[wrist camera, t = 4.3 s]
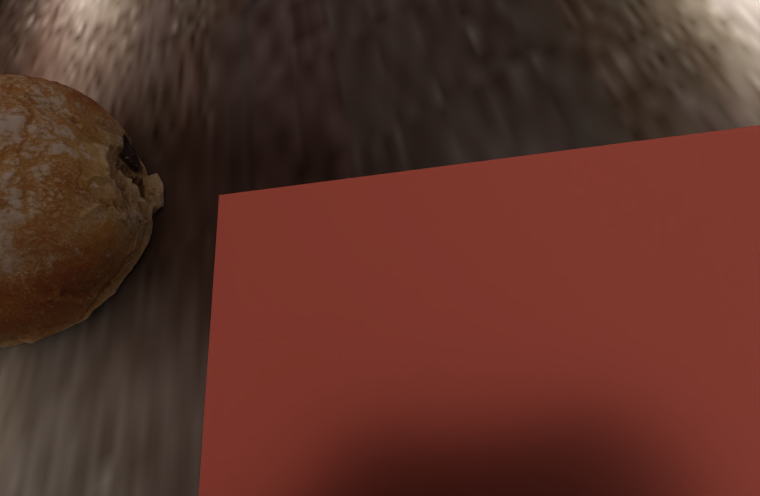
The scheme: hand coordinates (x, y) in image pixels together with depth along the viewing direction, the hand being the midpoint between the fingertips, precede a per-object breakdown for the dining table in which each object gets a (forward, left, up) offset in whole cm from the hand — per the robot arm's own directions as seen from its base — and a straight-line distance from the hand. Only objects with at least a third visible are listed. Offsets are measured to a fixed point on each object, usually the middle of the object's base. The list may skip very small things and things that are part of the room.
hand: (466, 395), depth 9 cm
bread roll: (-3, +17, -7) cm, 19 cm away
